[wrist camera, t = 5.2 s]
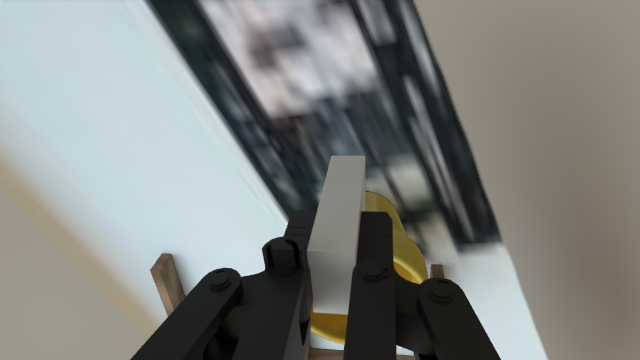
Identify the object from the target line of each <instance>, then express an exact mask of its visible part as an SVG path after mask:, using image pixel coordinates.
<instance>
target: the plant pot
mask: <svg viewBox="0 0 640 360" xmlns="http://www.w3.org/2000/svg"><path fill="white" fill-rule="evenodd" d="M365 202H366V207H365V211H375V212H387V213H388V214H389V216H390V217H391V218H392V220H393V260H394V268H395V270H396V272H397V273H398V274H399V275H400V276H401V277H403V278H404V279H406V280H408V281H411V282H414V283H417V284H420V283H422V282H423V281H424V280H426V279H429V278H428V273H427V268H426V264H425V260H424V257H423V255H422V253H421V252H420V250H419V248H418V247H417V246H416V244H415V243H414V242H413V241H412V240H411V239H410V238H409V237H408V236H407V234H406V232H405V230H404V227H403V225H402V223H401V221H400V218H399V216H398V214H397V212H396V210H395V208H394V207H393V205H392V204H391V203H390V202H389V201H387V200H386V199H385V198H383V197H381V196H380V195H377V194H375V193H371V192H365ZM310 315H311V331H312V332H314V333H315V334H317V335H319V336H321V337H323V338H325V339H327V340H330V341H333V342H336V343H339V344H344V345H345V336H346V327H347V317H348V315H346V314H331V313H316V312H313V303H312V308H311V313H310Z"/></svg>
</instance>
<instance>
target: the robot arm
mask: <svg viewBox="0 0 640 360" xmlns="http://www.w3.org/2000/svg"><path fill="white" fill-rule="evenodd" d="M365 207H366V202H365V156H331V160H330V164H329V168H328V172H327V175H326V179H325V183H324V187H323V191H322V195H321V199H320V202H319V206H318V210H317V211H302V210H298V211H297V212H296V213H295V214H294V215H292V216H291V217H290V219H289V222H288V225H287V228H286V231H285V235H284V236H283V237H278V238H275V239H272V240H270V241H269V242H267V243H266V244H265V245H264V246H263V248H262V252H263V257H264V263H265V271H263V272H261V273H258V274H254V275H249V276H244V277H241V276H240V274H239V273H238V272H237V271H236V270H234V269H232V268H221V269H216V270H214V271H212V272H209V273H208V274H207V275H206V276H204V277H203V278H202V279H201V281H200V282H199V283H198V284H197V285H196V286H195V287H194V288H193V290H192V291H191V292H190V293H189V294H188V295H187V296H186V297H185V299H184V300H183V301H182V302H181V303H180V304H179V305H178V306H177V308H176V309H175V310H174V311H173V312H172V313H171V314H170V315H169V317H168V318H167V319H166V320H165V321H164V322H163V323H162V324H161V326H160V327H159V328H158V329H157V330H156V331H155V332H154V333H153V335H152V336H151V337H150V338H149V339H148V340H147V341H146V343H145V344H144V345H143V346H142V347H141V348H140V349H139V350H138V352H137V353H136V354H135V355H134V356H133V357H132V358H131V360H305V355H306V350H307V345H308V340H309V335H310V330H311V315H310V313H311V308H312V303H313V312H316V313H331V314H346V315H348V317H347V327H346V336H345V345H344V355H343V360H397V358H396V345H398V346H401V347H403V348H406V349H408V350H411V351H414V356H415V359H416V360H501V359H500V357H499V355H498V353H497V352H496V350H495V348H494V346H493V344H492V343H491V341H490V339H489V337H488V335H487V333H486V332H485V330H484V328H483V326H482V324H481V323H480V321H479V319H478V317H477V315H476V314H475V312H474V310H473V308H472V306H471V305H470V303H469V301H468V299H467V297H466V296H465V294H464V292H463V290H462V289H461V288H460V287H459V286H458V285H457V284H456V283H454V282H452V281H451V280H448V279H444V278H430V279H426V280H424V281H423V282H422V283H420V284H417V283H414V282H411V281H408V280H406V279H404V278H403V277H401V276H400V275H399V274H398V273H397V272H396V270H395V268H394V260H393V220H392V218H391V217H390V216H389V214H388V213H387V212H375V211H365Z"/></svg>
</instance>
